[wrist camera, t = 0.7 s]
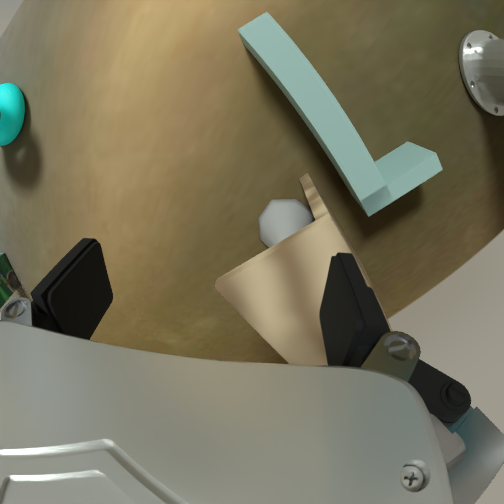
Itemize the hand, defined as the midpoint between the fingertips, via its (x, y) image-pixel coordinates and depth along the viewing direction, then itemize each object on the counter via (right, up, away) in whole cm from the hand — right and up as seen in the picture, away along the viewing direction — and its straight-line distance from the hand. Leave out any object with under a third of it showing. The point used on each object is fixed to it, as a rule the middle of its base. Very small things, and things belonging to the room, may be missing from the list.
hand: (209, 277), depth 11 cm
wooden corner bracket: (+8, +2, +26) cm, 28 cm away
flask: (+6, +5, +26) cm, 27 cm away
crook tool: (+11, +18, +17) cm, 28 cm away
